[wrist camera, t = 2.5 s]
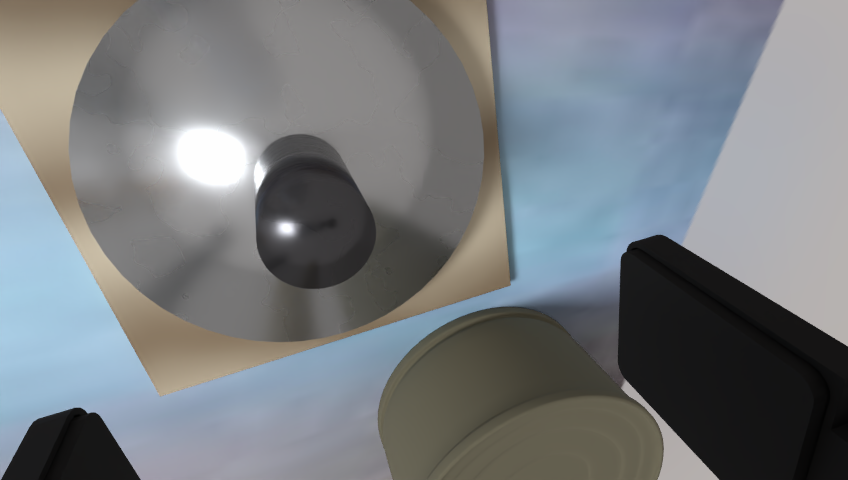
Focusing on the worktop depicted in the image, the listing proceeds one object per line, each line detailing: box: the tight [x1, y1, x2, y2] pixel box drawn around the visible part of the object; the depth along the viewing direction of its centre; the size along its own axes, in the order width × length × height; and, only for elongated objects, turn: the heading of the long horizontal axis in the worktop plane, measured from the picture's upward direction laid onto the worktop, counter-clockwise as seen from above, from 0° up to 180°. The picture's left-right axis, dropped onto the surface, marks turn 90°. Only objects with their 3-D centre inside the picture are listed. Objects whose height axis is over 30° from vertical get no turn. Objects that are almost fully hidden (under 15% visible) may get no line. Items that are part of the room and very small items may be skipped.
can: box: [378, 307, 664, 480], centre depth 25 cm, size 12×12×7 cm
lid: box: [69, 0, 484, 342], centre depth 16 cm, size 14×14×6 cm
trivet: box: [0, 0, 511, 396], centre depth 19 cm, size 16×16×1 cm
